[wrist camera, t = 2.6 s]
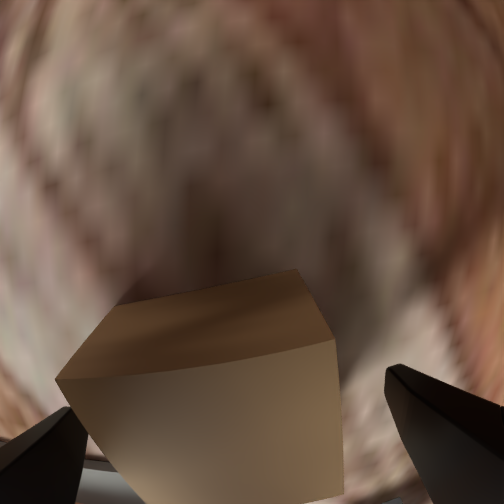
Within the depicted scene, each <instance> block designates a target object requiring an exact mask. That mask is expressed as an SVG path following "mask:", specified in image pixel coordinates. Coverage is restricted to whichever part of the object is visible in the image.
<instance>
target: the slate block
mask: <svg viewBox="0 0 504 504" xmlns="http://www.w3.org/2000/svg"><path fill="white" fill-rule="evenodd" d="M382 504H403V503H402V501H401V498H400V497H398V498H395V499H393V500H390V501H387V502H385V503H382Z"/></svg>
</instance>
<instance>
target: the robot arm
mask: <svg viewBox="0 0 504 504" xmlns="http://www.w3.org/2000/svg"><path fill="white" fill-rule="evenodd" d="M384 394H385V398H386V400H387V403H388V406H389V408H390V411H391V413H392V416H393V419H394V421H395V424H396V427H397V430H398V432H399V435H400V437H401V440H402V442H403V444H404V446H405V448H406V450H407V452H408V454H409V456H410V458H411V460H412V462H413V464H414V466H415V468H416V470H417V472H418V474H419V476H420V478H421V480H422V482H423V484H424V486H425V488H426V490H427V492H428V494H429V496H430V498H431V500H432V502H433V504H504V406H501V407H500V405H498V404H496V403H493V402H491V401H488V400H486V399H483V398H481V397H478V396H476V395H473V394H471V393H469V392H466V391H464V390H461V389H459V388H457V387H454V386H452V385H449V384H447V383H445V382H442V381H440V380H438V379H435V378H433V377H431V376H428V375H426V374H424V373H421V372H419V371H417V370H414V369H412V368H410V367H408V366H405V365H403V364H396V365H393V366H390V367H388V368H387V369H386V373H385V386H384ZM88 434H89V433H88V432H87V431H86V429H85V428H84V426H83V425H82V423H81V422H80V420H79V419H78V417H77V416H76V414H75V413H74V411H73V409H72V408H71V407H67V406H65V407H62V408H61V409H59V410H58V411H56V412H55V413H53V414H52V415H50V416H48V417H47V418H45V419H44V420H42V421H41V422H39V423H38V424H36V425H35V426H33V427H31V428H30V429H28V430H27V431H25V432H24V433H22V434H20V435H19V436H17V437H16V438H14V439H13V440H11V441H9V442H8V443H6V444H5V445H3V446H1V447H0V504H75V502H76V498H77V493H78V489H79V485H80V481H81V476H82V472H83V466H84V459H85V452H86V446H87V440H88Z"/></svg>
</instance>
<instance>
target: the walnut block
mask: <svg viewBox="0 0 504 504" xmlns="http://www.w3.org/2000/svg"><path fill="white" fill-rule="evenodd" d="M55 381H56V383H57V384H58V386H59V388H60V390H61V391H62V393H63V395H64V396H65V398H66V400H67V401H68V403H69V405H70V406H71V408H72V409H73V411H74V413H75V414H76V416H77V417H78V419H79V420H80V422H81V423H82V425H83V426H84V428H85V429H86V431H87V432H88V433H89V435H90V436H91V438H92V439H93V440H94V442H95V443H96V445H97V446H98V447H99V449H100V450H101V451H102V453H103V454H104V455H105V457H106V458H107V459H108V460H109V462H110V463H111V464H112V465H113V467H114V468H115V469H116V470H117V471H118V473H119V474H120V475H121V476H122V477H123V479H124V480H125V481H126V482H127V483H128V484H129V486H130V487H131V488H132V489H133V490H134V491H135V492H136V493H137V494H138V495H139V497H140V498H141V499H142V500H143V501H144V502H145V503H146V504H304V503H309V502H313V501H318V500H322V499H327V498H331V497H335V496H338V495H342V494H344V465H343V436H342V416H341V400H340V386H339V374H338V362H337V351H336V341H335V338H334V336H333V334H332V332H331V330H330V328H329V327H328V325H327V323H326V321H325V319H324V317H323V316H322V314H321V312H320V310H319V308H318V306H317V305H316V303H315V301H314V299H313V297H312V296H311V294H310V292H309V290H308V288H307V287H306V285H305V283H304V281H303V279H302V278H301V276H300V274H299V272H298V270H297V269H294V270H289V271H285V272H280V273H276V274H271V275H267V276H262V277H257V278H253V279H248V280H243V281H238V282H234V283H229V284H224V285H219V286H215V287H210V288H205V289H200V290H195V291H190V292H185V293H180V294H175V295H170V296H165V297H160V298H154V299H149V300H144V301H139V302H133V303H128V304H123V305H117V306H114V307H113V308H112V309H111V311H110V312H109V313H108V314H107V315H106V316H105V318H104V319H103V320H102V321H101V322H100V324H99V325H98V326H97V327H96V328H95V330H94V331H93V332H92V333H91V334H90V336H89V337H88V338H87V339H86V340H85V342H84V343H83V344H82V345H81V347H80V348H79V349H78V350H77V351H76V353H75V354H74V355H73V356H72V358H71V359H70V360H69V361H68V363H67V364H66V365H65V367H64V368H63V369H62V370H61V372H60V373H59V374H58V376H57V377H56V378H55Z"/></svg>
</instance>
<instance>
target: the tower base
mask: <svg viewBox="0 0 504 504" xmlns="http://www.w3.org/2000/svg"><path fill="white" fill-rule="evenodd" d="M5 444H6V443H5V442H2V441H0V447H1V446H3V445H5ZM75 504H146V503H145V502H144V501H143V500H142V499H141V498H140V497H139V495H138V494H137V493H136V492H135V491H134V490H133V489H132V488H131V487H130V486H129V484H128V483H127V482H126V481H125V480H124V479H123V477H122V476H121V475H120V474H119V473H118V471H117V470H116V469H115V468H114V467H113V465H112V464H111V463H110V462H102V461H93V460H86V459H84V466H83V472H82V476H81V481H80V485H79V489H78V493H77V498H76V502H75Z"/></svg>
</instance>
